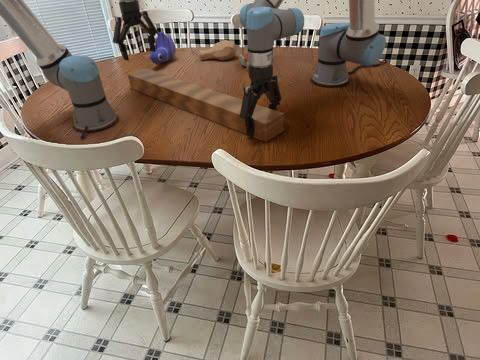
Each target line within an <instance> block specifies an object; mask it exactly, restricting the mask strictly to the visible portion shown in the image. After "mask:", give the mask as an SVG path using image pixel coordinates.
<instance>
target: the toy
mask: <svg viewBox="0 0 480 360" xmlns="http://www.w3.org/2000/svg"><path fill="white" fill-rule="evenodd" d="M155 34H156V35H157V36H156V38H155V43H154V45H155V50H156V52H152V51H150V53H149V56H148V58H149V60H150V61H151V62H152V63H153V64H155V65H156V68H157V69H159V67H160V64H163V63H166V62H169V61H170V60H172V59H173V58H174V57H175V55H176V51H177V49H176V44H175V42H174V40H173V38H172V37H171V36H170V35H168V36H167V35H166V34H165V33H164V32H163V31H160V32H159V31H158V32H157V33H155Z"/></svg>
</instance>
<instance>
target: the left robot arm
mask: <svg viewBox="0 0 480 360" xmlns="http://www.w3.org/2000/svg"><path fill="white" fill-rule="evenodd" d="M118 6H119V10H120V13H121V16H117V15H116V16H114V21H115V23H114V30H113V37H112V38H113V39H112V43H113V44H117V45H118V49H119V52H120V53H122V59H123V60H124V61H127V62H128V61H130V59H129V53H128V50H127V46H126V43H124V42H125V39H126V37H127V34H128V32H129V29H130V28H133V27H135V26H140V27H141V28H142V30H144V31H145V32H146V33H147V34H148V35H147V39H148V45H149V50H150V52H156V50H155V42H156V38H155V37H156V35H157V34H155V33H157V32H159V31H158V29H157V28H156V26H155V24H154V23H153V21H152V19H151V18H150V16H149V13H148V11H147V10H141V7H140V2H139V0H118ZM0 17H1V19H2V20H3V21H4V22H5V23H6V24H7V26H9V28H10V29H11V30H12V31H13V32H14V33H15V34H16V35H17V37H18V38H19V39H20V40H21V41H22V42H23V44H25V46H26V47H27V48H28V49H29V50H30V51H31V53H32V54H33V55H34V56H35V57H36V65H37V66H38V67H39V69H41V71H42V73H43V75H44V77H45V78H46V80H47V81H48V82H50V83H51V84H52V85H54V86H56V87H59V88H61V89H63V90H65V91H67V93H68V96H69V99H70V101H71V104H72V108H73V114H72V117H73V118H72V119H73V125H74V128H75V129H76V131H78V132H82V133H81V136H80V139H84V137H85V135H86V133H92V132H99V131H102V130H105V129H107V128H110V127H111V126H113V125H115V124H116V122H117V121H118V116H117V113H116V111H115V110H114V108H113V107H112V105H111V103H110V102H109V101H108V99H107V96H106V92H105V89H104V87H103V86H104V85H103V83H102V79H101V75H100V71H99V68H98V66H97V63H96V60H94V59H93V57H90V56H87V55H79V54H78V55H73V54H72V53H71V52H70V50H69V49H68V48H67V47H66V46H65V44H61V43H58V42H57V41H56V40H55V38H54V37H53V36H52V34H51V33H50V32H49V31H48V30H47V28H46V27H45V26H44V24H43V23H42V22H41V21H40V20H39V18H38V17H37V15H35V13H34V12H33V10H31V8H30V7H29V5H27V3H26V2H25V0H0ZM142 18H143V19H144V21H145V22H144V21H143V20H142Z"/></svg>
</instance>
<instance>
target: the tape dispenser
mask: <svg viewBox="0 0 480 360" xmlns="http://www.w3.org/2000/svg"><path fill="white" fill-rule="evenodd" d="M239 63H240V64H242V66H243V67H246V70H248V66H249V64H248V53H245V54H242V53H241V54H240V55H239Z"/></svg>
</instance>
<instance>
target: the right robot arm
mask: <svg viewBox="0 0 480 360" xmlns="http://www.w3.org/2000/svg"><path fill="white" fill-rule="evenodd" d="M283 2H284V0H254V1H253V3H246V4H244V5H242V7H241V9H240V11H239V13H238V18H239V19H238V20H239V22H240V25H241V26H242V27H243V28H245V29H246V42H247V43H246V44H247V54H248V64H249V66H248V69H247V71H248V79H250V83H249V85H248V86H246V85H244V86H243V89H242V90H243V96H242V100H243V101H242V106H241V111H240V118H242V119H245V127H246V134H245V135H246V136H249V137H251V138H254V118H252V115H253V112H254V110H255V107H256V104H257V105H258V100H259V99H261V97H262V95H264V94H265V97H266V98H267V99H268V101H269V104H268V108H269V109H272V110H275V111H278V106H280V104H281V102H282V96H281V92H280V86H279V84H278V75H276V74H274V65H273V63H274V42H275V41H278V40H282V39H286V38H289V37H293V36H295V35H298V34H300V33H301V32H302V31H303V29H304V27H305V15H304V13H303V12H302V11H301V9H299V8H298V7H294V8H293V7H288V8H287V9H282V8H280V7H281V5H282V3H283ZM375 6H376V0H348V17H349V22H334V23H329V24H325V25H323V26H322V27H321V28H320V32H319V37H318V52H317V53H318V54H317V64H316V66H315V67H314V68H315V69H314V71H313V73H312V75H311V76H312V78H311V82H312V83H314V84H315V85H317V86H321V87H326V88H338V87H341V86H345V85H346V84H348V83H349V75H350V74H353V73H355V72H356V70H357V69H360V68H367V67H378V66H381V65H382V64H383V63H384V62H385V63H388V60H387V59H386V58H384V59H382V60H381V62H379V63H377V62H378V61H379V59H380V58H381V57H382V55H383V53H384V51H385V48H386V44H387V39H386V36H385V35H384V34H381V33H380V25H379V24H378V23H377V22H376V19H375V18H376V15H375V14H376V11H375V10H376V7H375ZM347 62H350V63H352V64H357V65H358V66H356V67H354V69H353V70H351V71H348V67H347ZM248 114H249V115H248Z"/></svg>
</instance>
